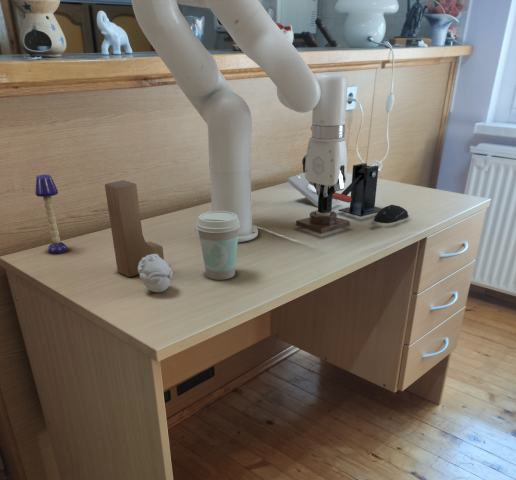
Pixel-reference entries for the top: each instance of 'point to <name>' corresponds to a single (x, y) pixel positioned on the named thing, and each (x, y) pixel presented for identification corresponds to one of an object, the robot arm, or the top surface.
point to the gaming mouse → (391, 214)
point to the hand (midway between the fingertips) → (324, 211)
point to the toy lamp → (50, 210)
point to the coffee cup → (219, 243)
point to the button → (323, 213)
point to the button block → (322, 223)
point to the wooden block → (127, 227)
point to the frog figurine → (155, 273)
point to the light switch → (306, 188)
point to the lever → (350, 187)
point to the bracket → (363, 192)
